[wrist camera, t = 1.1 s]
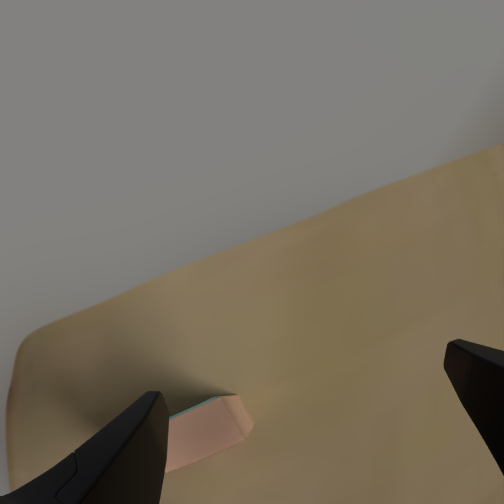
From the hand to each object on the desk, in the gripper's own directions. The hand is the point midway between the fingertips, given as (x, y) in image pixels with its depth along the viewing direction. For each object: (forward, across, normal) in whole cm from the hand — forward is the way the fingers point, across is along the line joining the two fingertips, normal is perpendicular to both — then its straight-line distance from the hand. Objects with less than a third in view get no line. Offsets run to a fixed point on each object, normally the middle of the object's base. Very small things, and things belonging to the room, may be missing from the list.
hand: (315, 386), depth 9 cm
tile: (+10, +7, +11) cm, 16 cm away
